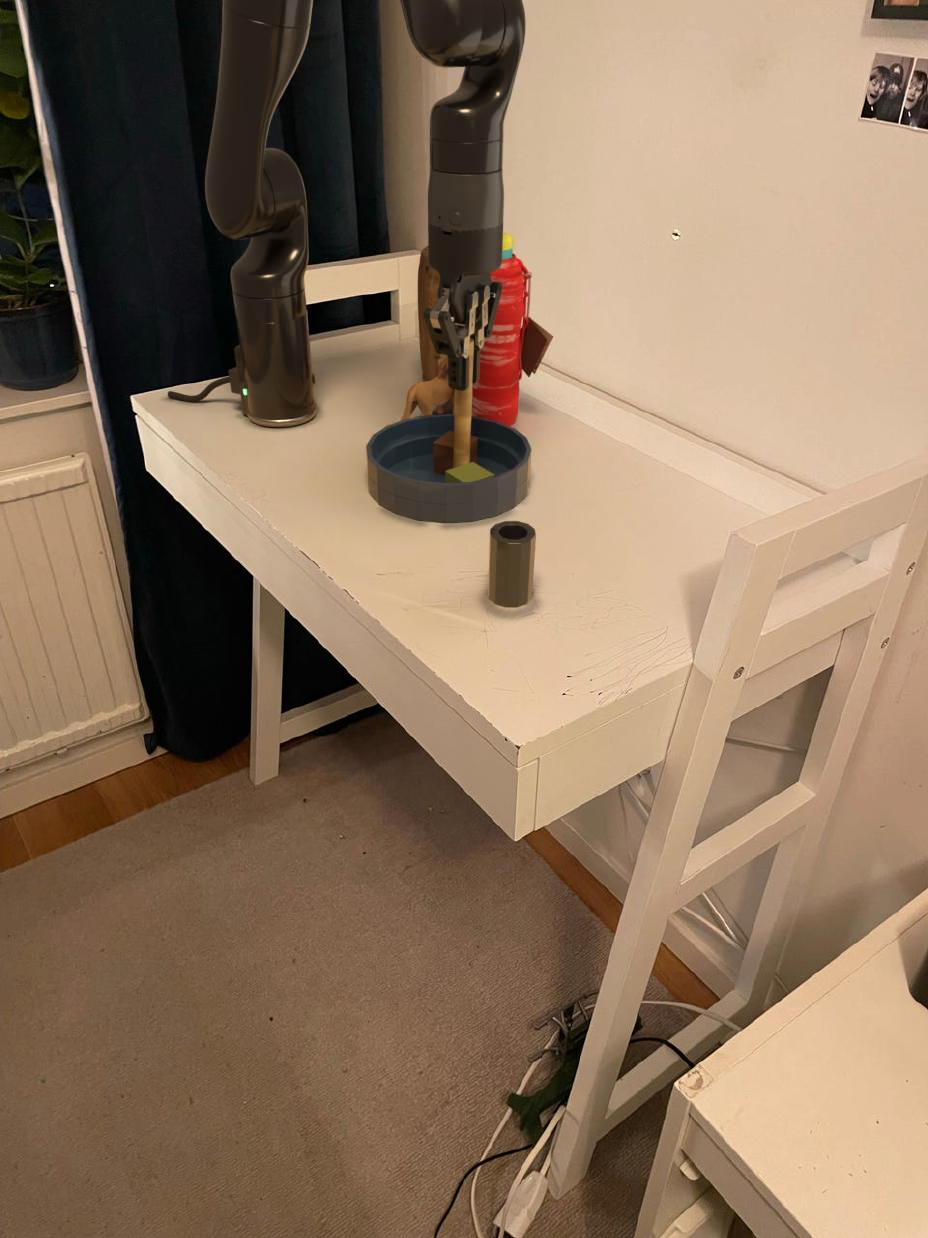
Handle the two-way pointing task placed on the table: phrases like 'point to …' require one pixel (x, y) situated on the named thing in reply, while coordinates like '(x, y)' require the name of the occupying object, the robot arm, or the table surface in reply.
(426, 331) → the block
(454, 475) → the olive block
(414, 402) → the lion figurine
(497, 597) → the holder
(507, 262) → the water bottle
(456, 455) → the stirring stick
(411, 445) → the bowl
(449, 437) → the walnut block
